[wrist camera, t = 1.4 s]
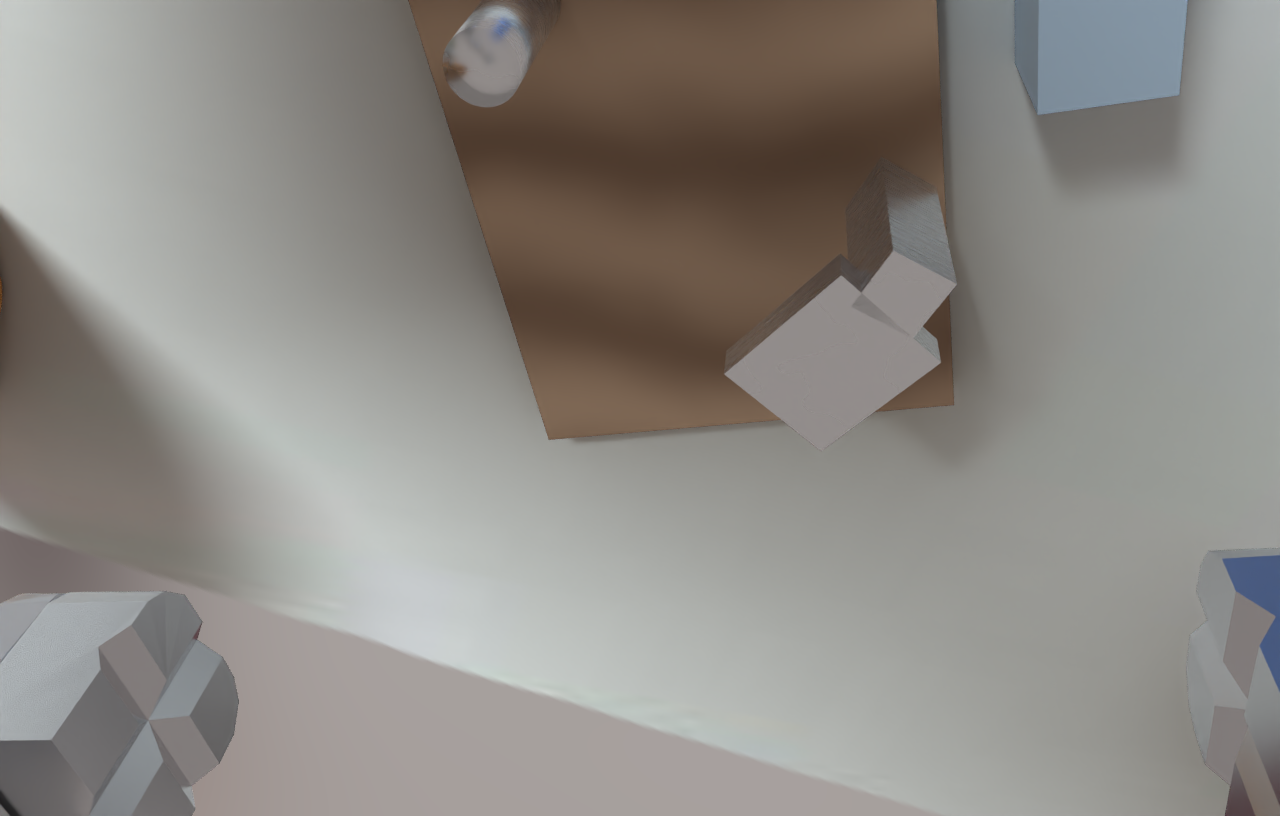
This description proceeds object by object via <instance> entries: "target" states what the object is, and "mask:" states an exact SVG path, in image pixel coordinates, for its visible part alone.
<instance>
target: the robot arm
mask: <svg viewBox="0 0 1280 816" xmlns="http://www.w3.org/2000/svg"><path fill="white" fill-rule="evenodd" d="M1196 592H1197V594H1198V597H1199V600H1200V602H1201V605H1202V608H1203V610H1204V613H1205V616H1206V618H1207V621H1206V622H1205V623H1203V624H1202V625H1201V626H1200V627H1199V628H1198V629H1196V630H1195V631H1194V632H1193V633H1192V634H1191V635H1190V638H1189V647H1188V656H1187V666H1186V672H1187V686H1188V701H1189V708H1190V713H1191V717H1192V722H1193V726H1194V731H1195V735H1196V738H1197V741H1198V744H1199V747H1200V750H1201V753H1202V757H1203V760H1204V763H1205V765H1206V766H1207V767H1209V768H1210V769H1211V770H1212V771H1213V772H1215V773H1216V774H1217V775H1218V776H1219V777H1221V778H1222V779H1223V780H1224V781H1225V782H1227V783H1228V784H1229V785H1230V790H1229V796H1228V801H1227V807H1226V812H1225V816H1280V548H1261V549H1239V550H1218V551H1208V552H1207V554H1206V556H1205V558H1204V560H1203V562H1202V564H1201V566H1200V572H1199V578H1198V584H1197V590H1196ZM201 625H202V620H201V619H200V617H199V616H198V614H197V613H196V611H195V610H194V608H193V607H192V605H191V604H190V602H189V601H188V599H187V597H186V596H185V595H183V594H178V593H172V592H167V591H140V592H139V591H138V592H137V591H136V592H135V591H134V592H69V593H63V594H62V593H61V594H20V595H18V596H15V597H13V598H11V599H9V600H7V601H5V602H2V603H1V604H0V816H192V815H193V813H194V811H195V803H194V798H193V792H192V785H193V784H195V783H196V782H197V781H198V780H200V779H201V778H202V777H204V776H205V775H206V774H207V773H208V772H210V771H211V770H212V769H213V768H215V767H216V766H217V765H218V764H219V763H220V761H221V759H222V757H223V755H224V753H225V751H226V749H227V747H228V745H229V743H230V741H231V739H232V737H233V735H234V731H235V724H236V717H237V710H238V704H239V699H238V695H237V689H236V685H235V680H234V676H233V674H232V672H231V671H230V669H229V667H228V665H227V663H226V662H225V660H224V658H223V657H222V656H221V655H219V654H218V653H216V652H215V651H213V650H212V649H210V648H209V647H207V646H206V645H204V644H203V643H201V642H200V641H199V640H197V638H198V635H199V631H200V628H201Z"/></svg>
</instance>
